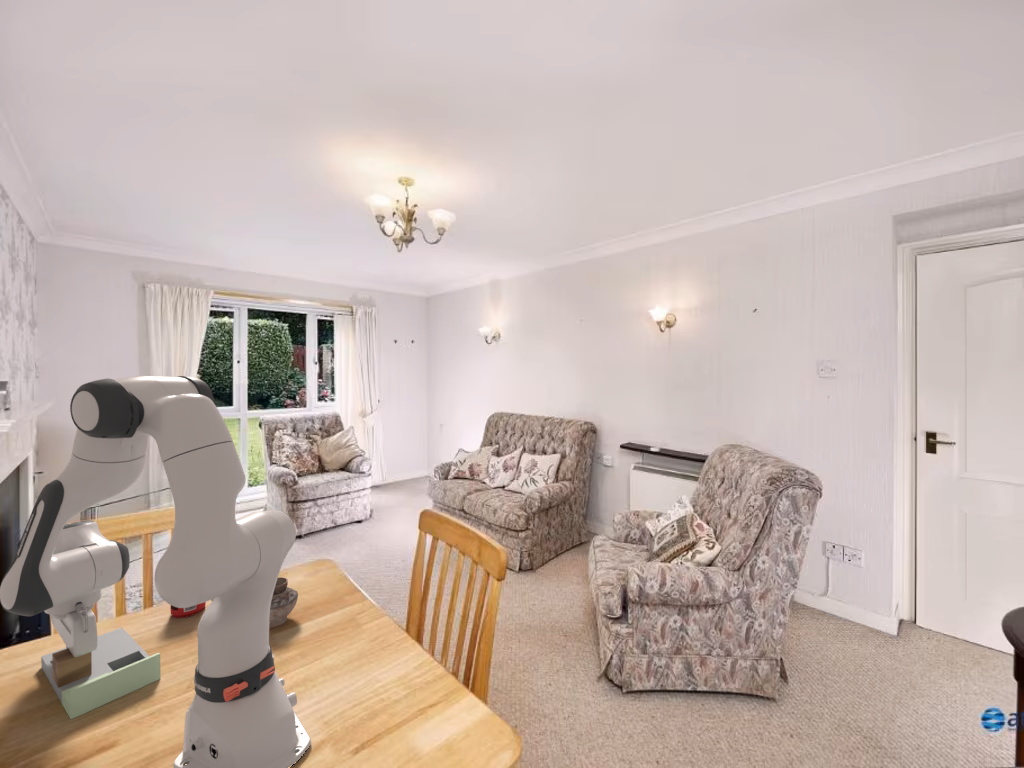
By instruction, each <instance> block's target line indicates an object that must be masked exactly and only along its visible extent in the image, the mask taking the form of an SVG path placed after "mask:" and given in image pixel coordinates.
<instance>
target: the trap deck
mask: <svg viewBox="0 0 1024 768" xmlns="http://www.w3.org/2000/svg"><path fill="white" fill-rule="evenodd" d="M97 640H98V644H97V648H96V650H94V651H92V674H91V675H89V676H86V677H84V678H81V679H79V680H76V681H74V682H72V683H69V684H67V685H64V686H62V687H59V688H58V687H57V685H56V683H55V681H54V679H53V677H52V654H53V653H56V652H59V651H61V650H64V649H66V647H63V648H61V649H59V650H55V651H53V652H50V653H47V654H45V655H41V658H40V659H41V664H40V665H41V669H42V672H44V675H45V676H46V678H47V679H48V682H49V683H50V685H51V688H52V689H53V690H54V692H55V694H56V697H58V700H59V701H60V703H61V705H62V707H63V708H64V711H65V712H66V714H67V715H68V717H69V719H70V720H73V719H75V718H78V717H80V716H83V715H84V714H87V713H89V712H91V711H93V710H95V709H97V708H99V707H102V706H104V705H106V704H108V703H111V702H112V701H113V702H114V701H115V700H117V699H119V698H122V697H123V696H126V695H129V694H130V693H133V692H135V691H137V690H139V689H141V688H143V687H146V686H148V685H150V684H152V683H155V682H157V681H159V680H161V653H160V652H157V653H154V654H151V655H149V653H148V652H146V650H144V649H143V647H142V646H141V645H140V644H138V643H137V642H136V640H134V639H133V637H132V636H131V635H130V633H128V632H127V631H126V629H124V627H119V628H117V629H114V630H112V631H108V632H105V633H103V634H100V635H97Z"/></svg>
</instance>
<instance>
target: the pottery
mask: <svg viewBox="0 0 1024 768" xmlns="http://www.w3.org/2000/svg"><path fill="white" fill-rule="evenodd" d="M288 583H289V581H288V578H286V577H283V576H281V577H280V576H278V578H277V582H276V585H275V588H274V592H273V596H272V600H271V606H270V616H269V629H271V628H276V627H279V626H281V625H283V624H285V623H286V622H287V620H288V616H289V615H290V614H291V612H292V611H293V610H294V609H295V607H296V605H297V602H298V599H299V598H298V597H299V593H298V591H297V590H296V589H294V588H291V587H288ZM210 601H211V602H212V601H213V599H212V600H210Z"/></svg>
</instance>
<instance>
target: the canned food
mask: <svg viewBox="0 0 1024 768" xmlns="http://www.w3.org/2000/svg"><path fill="white" fill-rule="evenodd" d="M206 603H207V601H206V602H204V603H201V604H198V605H194V606H191V607H188V608H177V607H174V606H172V605H170V615H171V617H172V618H174V619H184V618H189V617H192V616H195V615H197V614H199V613H201V612H203V610H204V609H205V607H206Z"/></svg>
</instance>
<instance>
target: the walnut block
mask: <svg viewBox="0 0 1024 768" xmlns="http://www.w3.org/2000/svg"><path fill="white" fill-rule="evenodd" d="M60 650H61V649H60ZM91 674H92V652H89V653H87V654H84V655H81V656H79V657H74V656H73V655H72V653H71V652H70V650H69V649H68V648H67V649H64V650H61V651H59V652H56V653H53V654H52V677H53V679H54V681H55V683H56V685H57V687H58V688H59V687H62V686H64V685H67V684H69V683H72V682H74V681H76V680H79V679H81V678H84V677H86V676H89V675H91Z"/></svg>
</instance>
